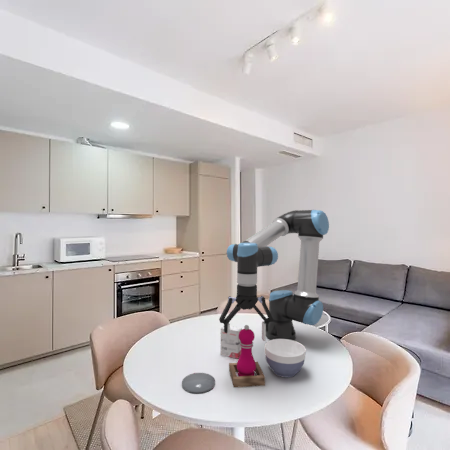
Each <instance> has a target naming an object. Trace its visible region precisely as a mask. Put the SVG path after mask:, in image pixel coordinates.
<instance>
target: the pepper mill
mask: <svg viewBox="0 0 450 450" xmlns="http://www.w3.org/2000/svg"><path fill="white" fill-rule="evenodd" d="M243 327H244V328H242V330H241V331H240V332H239V340H240V347H241V355H240V357H239V358H238V360H237V362H236V363H237V369H238V371H239V372H237V377H239V376H255V375H256V373H255V370H256V363H255V362H256V360H255V358H254V356H253V351H252V349H253V347H254V342H253V341H254V340H255V333H254V331H253V329H250V327H249V325H248V324H246V325H244V326H243Z"/></svg>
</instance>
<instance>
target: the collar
mask: <svg viewBox="0 0 450 450" xmlns="http://www.w3.org/2000/svg"><path fill="white" fill-rule="evenodd" d="M255 363H256V370H255V371H254V373H255V376H239V377H238V374H237V373H238V372H239V371H238V369H237V362H229V363H228V373H229V375H230V379H231V382H232V383H231V384H232V387H233V388H244V387H246V388H247V387H259V386H266V376H265V374H264V372H263V369H262V367H261V365H260V364H259V361H255Z"/></svg>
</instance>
